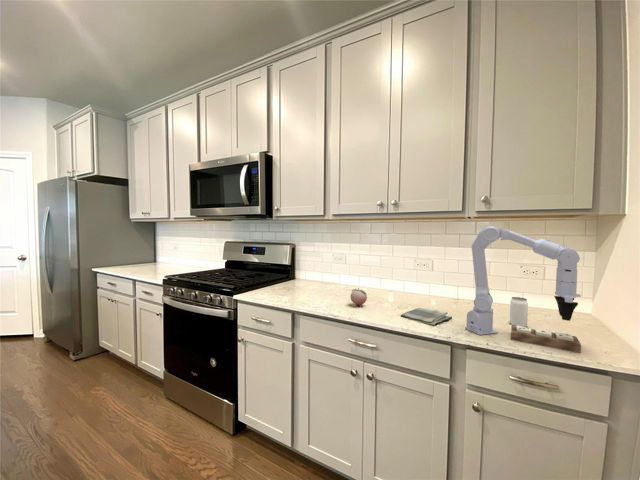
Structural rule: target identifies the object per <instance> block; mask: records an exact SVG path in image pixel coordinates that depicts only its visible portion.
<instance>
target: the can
mask: <svg viewBox="0 0 640 480" xmlns="http://www.w3.org/2000/svg"><path fill="white" fill-rule="evenodd" d="M509 303H510V304H509V323H510V325H511V326H523V327H528V315H529V314H528V313H529V302H528V299H527V298H525V297H518V296H512V297H511V299H510V302H509Z"/></svg>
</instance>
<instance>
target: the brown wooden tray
mask: <svg viewBox="0 0 640 480" xmlns="http://www.w3.org/2000/svg"><path fill="white" fill-rule="evenodd" d="M516 328H517V326H513V325H511V330H510V340H511V341H516V342H522V343H527V344H531V343H532V345H536V346H543V347H547V348H548V347H549V348H553V349H559V350H563V351H569V352H574V353H582V344H581V342H580V340H579V339H578V337H577V336H576V335H572V337H573V338H574V339H573V341H568V340H562V339H556V338H555V332H552V331H551V334H552V338H551V337H545V336H539V335H535V329H536V328H535V329H533V328H531V334H528V333H522V332H516Z"/></svg>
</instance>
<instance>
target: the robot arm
mask: <svg viewBox="0 0 640 480" xmlns="http://www.w3.org/2000/svg"><path fill="white" fill-rule="evenodd" d="M499 239H500V241H512V242H515V243H518V244H521V245H524V246H526V247H529V248H531V249H532V251H533V253H535V254H538V255H541V256H543V257H545V258H548V259H551V260H556V261H557V266H556V275H555V276H556V277H555V291H554V299H555V301H556V303H557V308H558V313H559V316H561V320H563V321H568V322H570V321H571V320H572V317H573V313H574V310H575V309H576V308H577V306H578V305H579V303H578V302H575V299H576V298H577V297H578V298H581V297H582V295H581V294H580V293H577V284H578V263H579V262H580V260H581V257H580V255H579V253H578V252H577V251H576V250H574V249H571V248H569V247H566V245H564V244H561V245H560V244H557V243H554V242H552V241H551V240H550V239H548V238H546V239H543V238H541V239H537V240H536V239H533V238H531V237H528V236H525V235H523V234H520V233H519V232H518V233H517V232H515V231H514V230H513V231H512V230H510V229H505V228H500V227H496V226H493V225H491V226H490V225H489V226H486V227H485V228H483V229H482V230H481V231H479V233H478V235H477V236H476V238H475V239H474V240H473V242H472V244H471V255H472V263H473V265H472V266H473V274H474V283H475V298H474V300H473V308H472V309H471V310H469V311H468V312H467V314H466V327H465V329H466V330H468V331H470V332H472V333H475V334H477V335H480V336H481V335H492V334H498V333H499V331H497V330H494V327H493V324H494V309H493V308H492V306H493V305H492V304H493V302H494V301H493V297H492V295H491V294H490V293H491V292H490V289H489V281H488V269H487V262H486V253H485V249H487V248H488V246H489V245H491V244H492V243H494V242H496V241H497V240H499Z"/></svg>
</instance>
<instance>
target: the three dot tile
mask: <svg viewBox="0 0 640 480" xmlns="http://www.w3.org/2000/svg"><path fill="white" fill-rule="evenodd" d="M531 329H532V328H531V327H528V326H526V327H523V326H517V328H516V332H522V333H528V334H531Z"/></svg>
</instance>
